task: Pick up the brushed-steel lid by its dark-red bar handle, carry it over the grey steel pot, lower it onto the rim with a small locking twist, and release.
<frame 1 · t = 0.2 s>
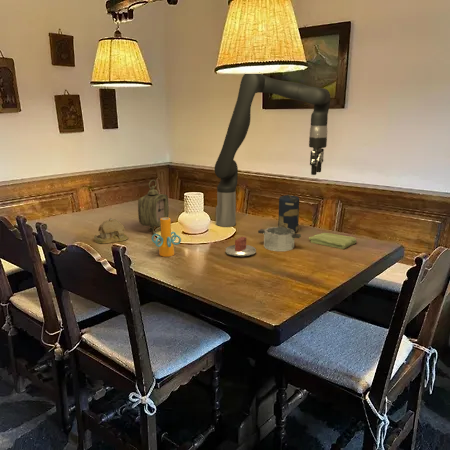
hand: (316, 173, 190), 29 cm above the table, fingers open, 8 cm apart
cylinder: (166, 255, 173), on the table
canister: (288, 231, 205), on the table
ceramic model: (111, 240, 193), on the table
lid: (240, 253, 175), on the table
pot: (278, 246, 183), on the table
tabletop clock: (154, 231, 206), on the table
washcloth: (332, 243, 188), on the table
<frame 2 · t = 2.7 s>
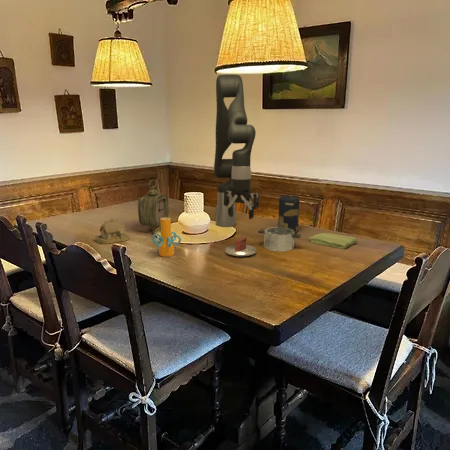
hand: (240, 217, 171), 15 cm above the table, fingers open, 8 cm apart
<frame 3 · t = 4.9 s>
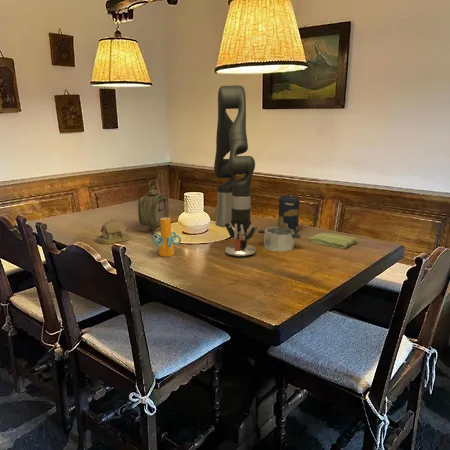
hand: (240, 247, 174), 2 cm above the table, fingers closed on lid
lid: (240, 253, 174), on the table, touching gripper
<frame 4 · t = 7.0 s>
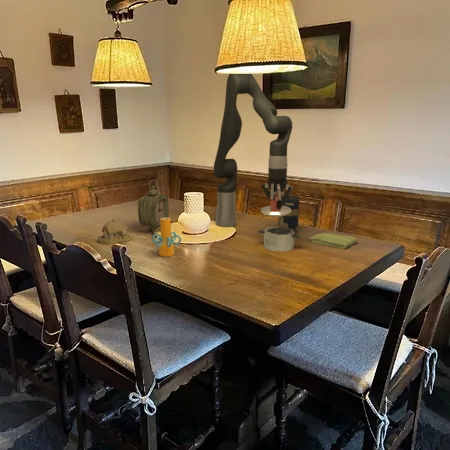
hand: (276, 208, 177), 17 cm above the table, fingers closed on lid
lid: (275, 213, 178), point 15 cm above the table, tilted 5°, touching gripper
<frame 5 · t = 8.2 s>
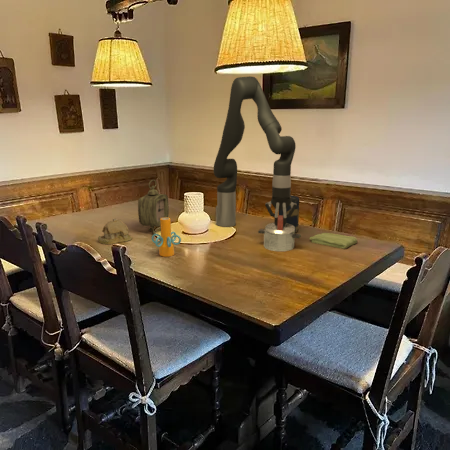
hand: (280, 226, 181), 9 cm above the table, fingers closed on lid
lid: (279, 231, 181), point 7 cm above the table, tilted 7°, touching gripper
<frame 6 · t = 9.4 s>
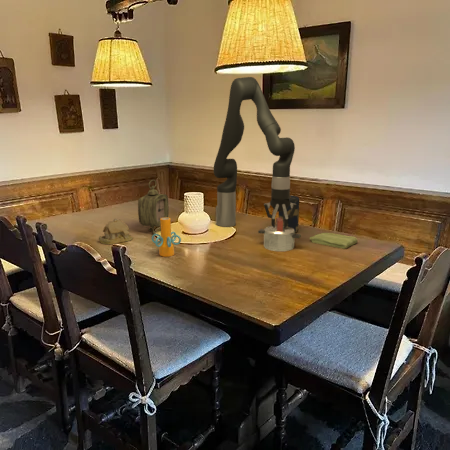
hand: (279, 227, 180), 9 cm above the table, fingers open, 4 cm apart
lid: (279, 233, 180), point 6 cm above the table, touching pot
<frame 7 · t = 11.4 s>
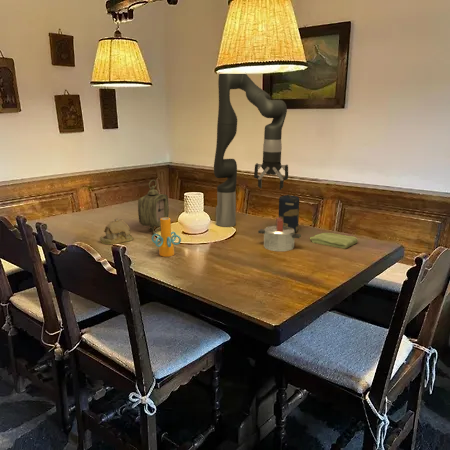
hand: (270, 188, 182), 24 cm above the table, fingers open, 8 cm apart
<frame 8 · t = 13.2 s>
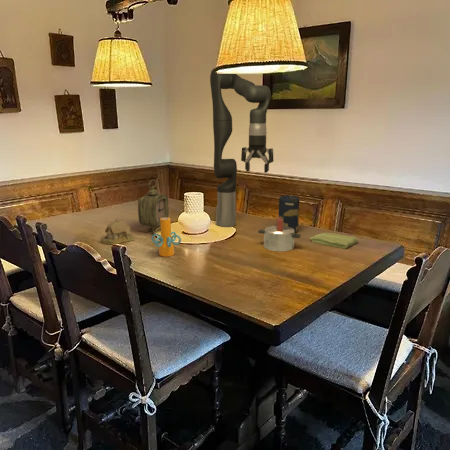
hand: (256, 171, 188), 30 cm above the table, fingers open, 8 cm apart
at the end: lid 0.7 cm off-centre on the pot, point 6.0 cm above the pot's base; lid tilted 0°; the gripper is holding nothing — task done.
